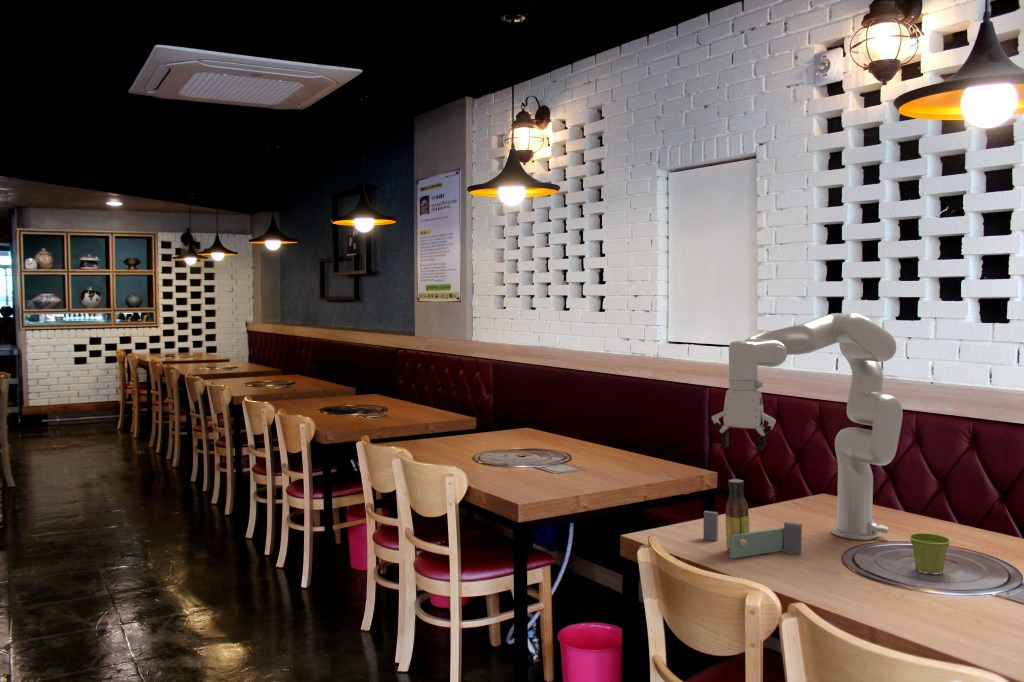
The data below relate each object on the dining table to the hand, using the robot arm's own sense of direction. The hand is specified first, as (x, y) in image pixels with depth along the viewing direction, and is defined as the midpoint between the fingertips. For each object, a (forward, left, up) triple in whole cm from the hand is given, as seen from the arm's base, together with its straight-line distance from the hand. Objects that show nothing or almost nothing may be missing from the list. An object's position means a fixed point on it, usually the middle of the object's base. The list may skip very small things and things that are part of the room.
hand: (743, 448), depth 220 cm
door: (-5, +1, -28) cm, 29 cm away
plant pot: (-45, -8, -29) cm, 54 cm away
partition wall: (0, -6, -29) cm, 29 cm away
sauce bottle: (+1, +2, -29) cm, 29 cm away
